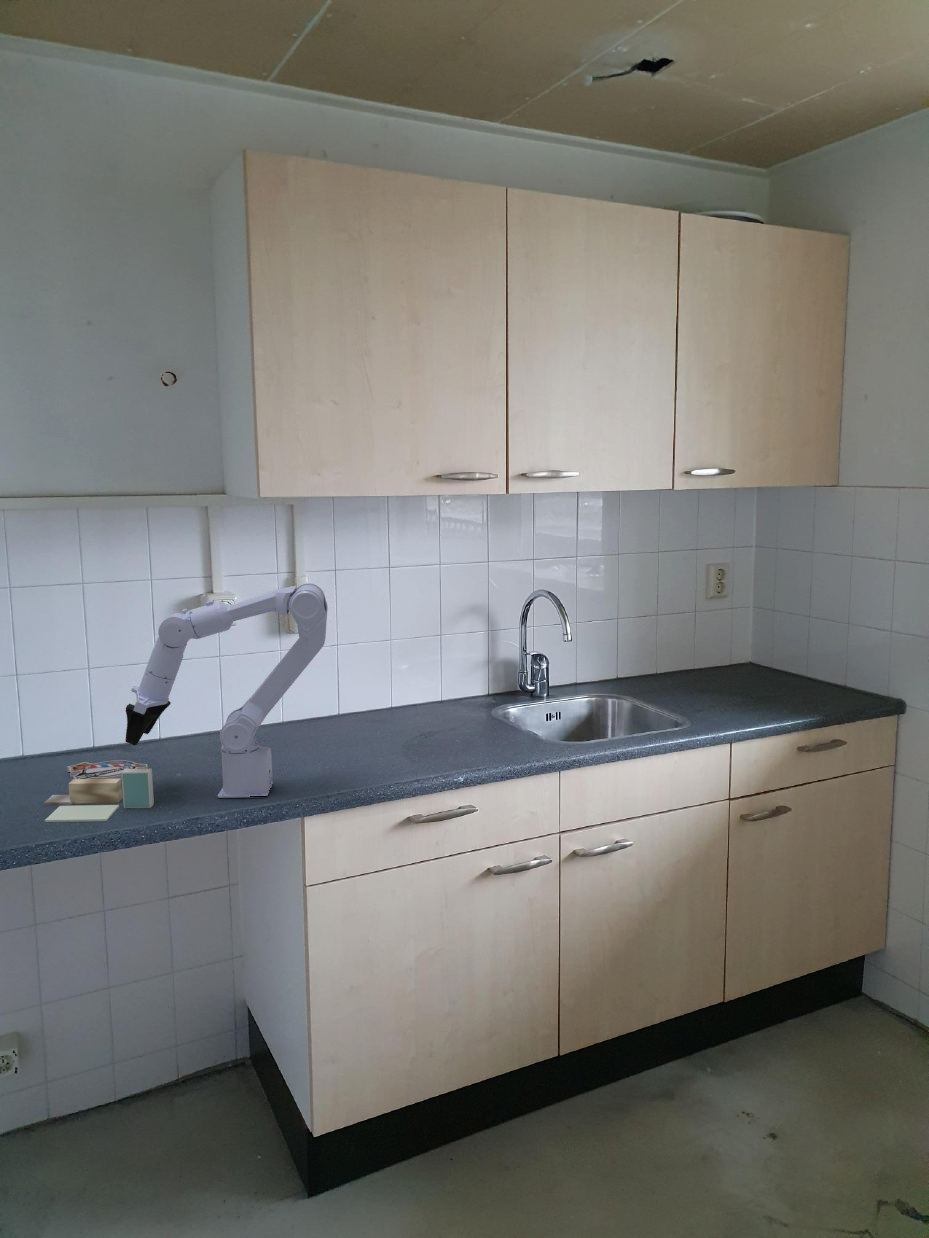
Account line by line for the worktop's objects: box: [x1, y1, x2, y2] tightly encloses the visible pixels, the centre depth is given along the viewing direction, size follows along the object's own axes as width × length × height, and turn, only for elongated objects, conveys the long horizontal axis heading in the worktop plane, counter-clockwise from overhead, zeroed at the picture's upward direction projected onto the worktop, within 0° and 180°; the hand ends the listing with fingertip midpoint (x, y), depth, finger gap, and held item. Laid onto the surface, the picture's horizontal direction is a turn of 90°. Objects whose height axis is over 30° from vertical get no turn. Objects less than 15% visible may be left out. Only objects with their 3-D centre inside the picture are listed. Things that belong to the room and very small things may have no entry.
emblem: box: [66, 759, 149, 782], centre depth 194 cm, size 12×2×15 cm
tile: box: [121, 768, 155, 809], centre depth 175 cm, size 5×2×7 cm, turn 92°
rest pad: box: [44, 804, 120, 823], centre depth 172 cm, size 11×7×1 cm, turn 92°
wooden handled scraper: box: [43, 779, 123, 806], centre depth 178 cm, size 14×4×4 cm, turn 92°
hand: (137, 737), depth 180 cm, fingers open, 7 cm apart
